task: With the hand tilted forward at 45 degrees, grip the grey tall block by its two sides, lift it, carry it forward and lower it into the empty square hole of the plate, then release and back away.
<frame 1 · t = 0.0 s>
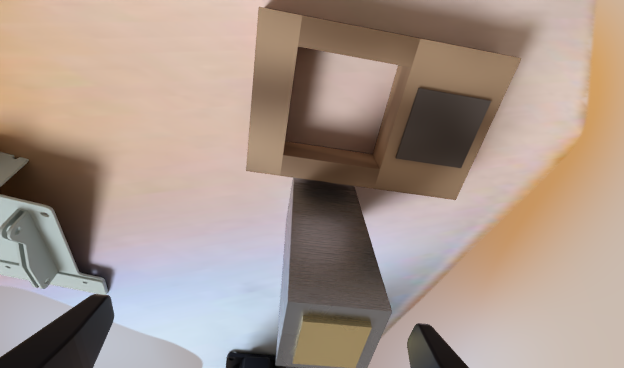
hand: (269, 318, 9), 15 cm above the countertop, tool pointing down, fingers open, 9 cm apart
plate with square hole: (338, 103, 21), on the countertop
grey tall block: (318, 200, 25), on the countertop
metal bracket: (17, 217, 25), on the countertop
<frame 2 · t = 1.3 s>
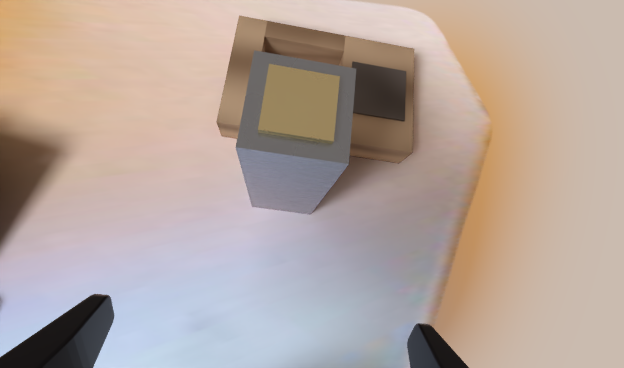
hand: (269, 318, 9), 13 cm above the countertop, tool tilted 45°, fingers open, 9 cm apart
plate with square hole: (297, 95, 26), on the countertop
grey tall block: (285, 182, 24), on the countertop
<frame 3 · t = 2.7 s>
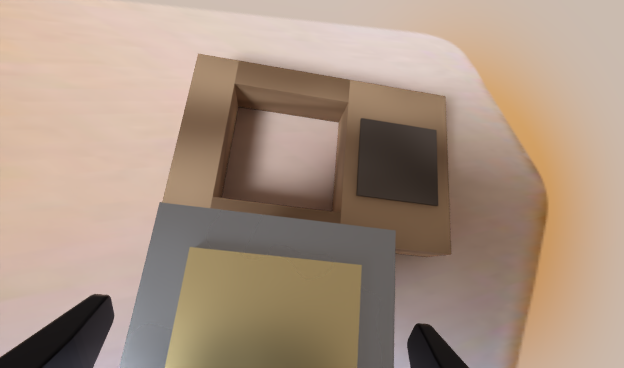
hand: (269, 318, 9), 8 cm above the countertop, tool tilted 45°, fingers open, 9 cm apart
plate with square hole: (283, 161, 19), on the countertop
grey tall block: (265, 296, 17), on the countertop
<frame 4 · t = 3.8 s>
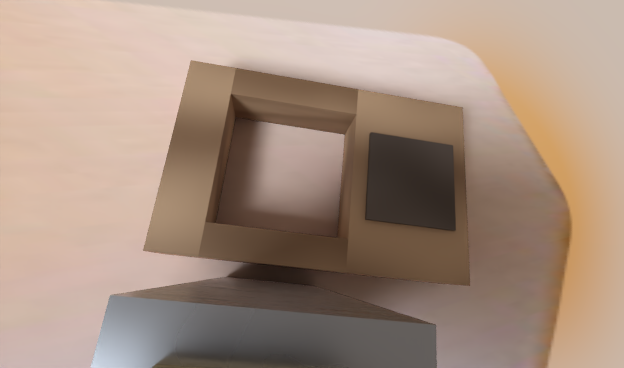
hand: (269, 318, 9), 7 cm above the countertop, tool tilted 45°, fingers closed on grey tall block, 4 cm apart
plate with square hole: (284, 178, 17), on the countertop
grey tall block: (264, 329, 15), on the countertop, touching gripper
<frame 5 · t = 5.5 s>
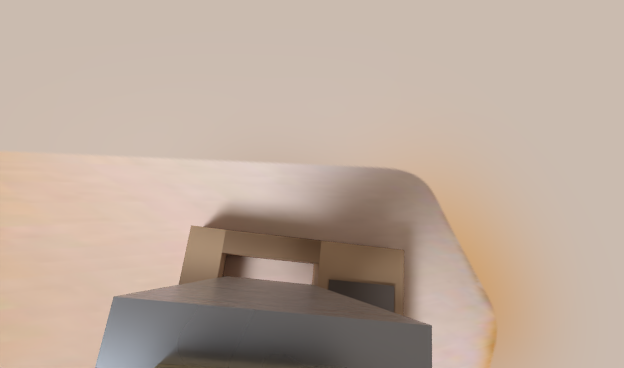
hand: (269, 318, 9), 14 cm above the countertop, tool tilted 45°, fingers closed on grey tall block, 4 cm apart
plate with square hole: (264, 305, 22), on the countertop
grey tall block: (264, 328, 15), point 7 cm above the countertop, touching gripper
when the fingers open (8 cm above the countertop, at t = 7.2 s): grey tall block stays where it is, resting in plate with square hole.
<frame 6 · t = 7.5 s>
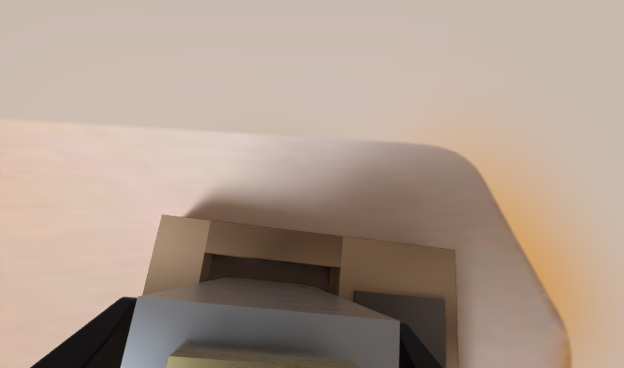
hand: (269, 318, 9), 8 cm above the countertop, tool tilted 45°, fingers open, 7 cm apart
plate with square hole: (264, 324, 16), on the countertop
grey tall block: (263, 325, 16), resting in plate with square hole
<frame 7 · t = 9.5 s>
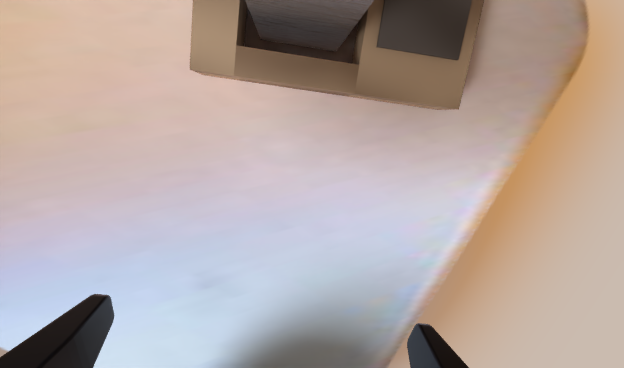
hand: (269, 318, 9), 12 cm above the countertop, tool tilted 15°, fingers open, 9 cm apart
plate with square hole: (304, 3, 18), on the countertop
grey tall block: (303, 4, 18), resting in plate with square hole
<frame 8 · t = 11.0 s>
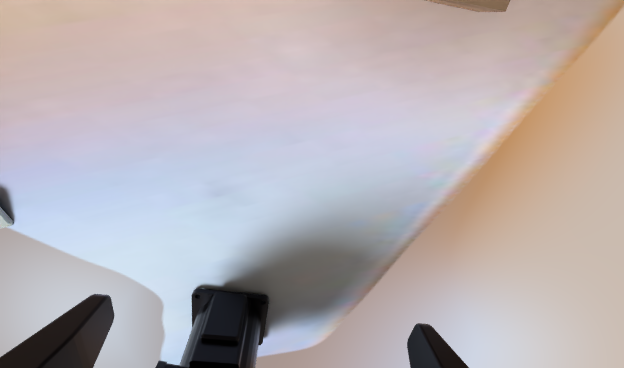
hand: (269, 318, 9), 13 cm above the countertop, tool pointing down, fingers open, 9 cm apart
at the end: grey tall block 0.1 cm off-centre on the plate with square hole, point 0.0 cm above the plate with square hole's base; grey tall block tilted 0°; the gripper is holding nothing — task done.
